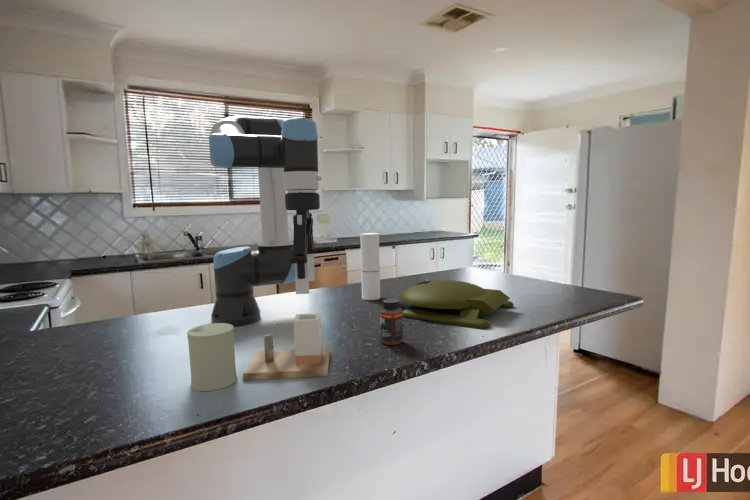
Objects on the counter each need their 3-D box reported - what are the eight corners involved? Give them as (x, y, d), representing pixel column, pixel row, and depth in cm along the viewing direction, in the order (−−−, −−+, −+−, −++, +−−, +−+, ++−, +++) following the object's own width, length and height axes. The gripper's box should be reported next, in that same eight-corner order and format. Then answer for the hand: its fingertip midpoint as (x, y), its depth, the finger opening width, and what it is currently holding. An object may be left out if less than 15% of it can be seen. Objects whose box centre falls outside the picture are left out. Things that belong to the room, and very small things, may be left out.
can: (199, 373, 92) (195, 321, 91) (241, 371, 93) (238, 319, 92) (184, 392, 83) (179, 335, 82) (230, 390, 84) (227, 332, 83)
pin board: (243, 380, 88) (240, 346, 88) (256, 357, 101) (254, 327, 100) (327, 376, 89) (326, 342, 89) (330, 354, 102) (329, 324, 101)
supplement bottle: (405, 339, 112) (405, 298, 111) (399, 346, 106) (398, 303, 105) (384, 337, 114) (383, 297, 113) (377, 344, 108) (376, 302, 107)
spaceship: (515, 307, 144) (515, 279, 143) (487, 331, 118) (487, 298, 117) (424, 296, 163) (424, 271, 162) (383, 315, 137) (382, 286, 136)
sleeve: (295, 364, 93) (293, 321, 91) (298, 355, 98) (296, 314, 97) (320, 363, 93) (318, 320, 92) (322, 354, 98) (320, 313, 97)
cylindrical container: (381, 295, 164) (379, 232, 161) (379, 300, 157) (378, 234, 154) (363, 295, 164) (361, 233, 162) (360, 300, 157) (359, 234, 154)
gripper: (314, 190, 79) (318, 299, 81) (322, 192, 104) (325, 276, 106) (274, 191, 78) (280, 300, 81) (292, 193, 103) (296, 276, 106)
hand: (306, 286), depth 94 cm, fingers open, 13 cm apart
